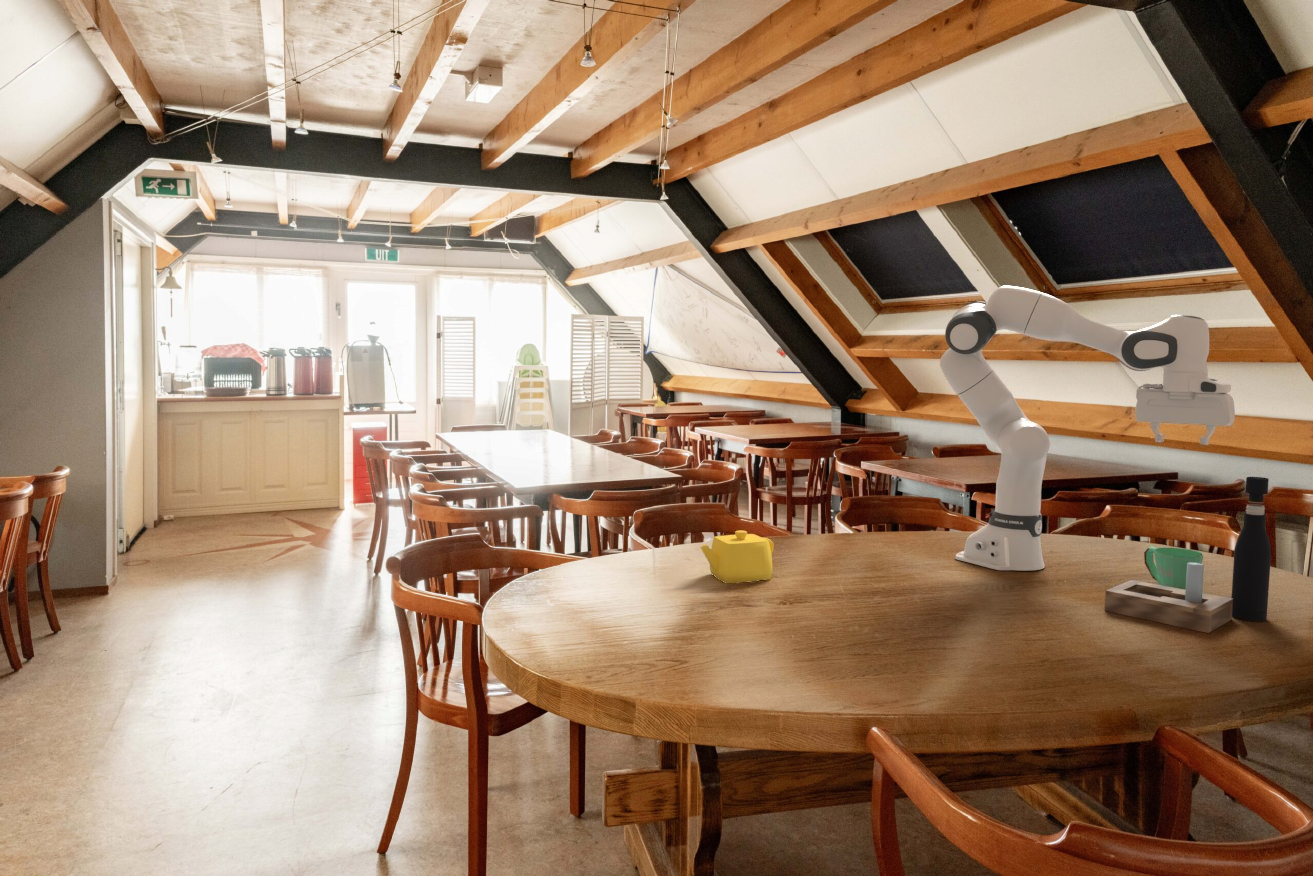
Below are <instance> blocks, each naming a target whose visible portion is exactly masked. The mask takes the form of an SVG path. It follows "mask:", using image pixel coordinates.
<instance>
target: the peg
mask: <svg viewBox="0 0 1313 876" xmlns="http://www.w3.org/2000/svg"><path fill="white" fill-rule="evenodd" d="M1204 570H1205V564H1200V563H1187V574H1186V591H1185V600H1186V601H1191V602H1196V603H1201V604H1202V593H1203V588H1204V587H1203V586H1204V573H1205V571H1204Z"/></svg>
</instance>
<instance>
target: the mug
mask: <svg viewBox="0 0 1313 876" xmlns="http://www.w3.org/2000/svg"><path fill="white" fill-rule="evenodd" d="M1143 555H1144V556H1143V558H1144V559H1143V560H1144V565H1145V566H1146V568H1147V570H1148V572H1149V574H1150V575H1151V577H1152V579H1153V580H1154V581H1156V582H1157V583H1158V585H1162V586H1168V587H1173V588H1178V589H1184V590H1186V574H1187V563H1200V564H1202V563H1203V560H1204V554H1203V553H1202V552H1201V551H1196V550H1193V549H1188V548H1179V547H1156V546H1153V545H1152V546H1148V547H1147V548H1146V549H1145V550H1144V552H1143Z"/></svg>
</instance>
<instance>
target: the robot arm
mask: <svg viewBox="0 0 1313 876" xmlns="http://www.w3.org/2000/svg"><path fill="white" fill-rule="evenodd" d="M1001 330H1009V331H1012V332H1016V333H1019V334H1021V335H1024V336H1027V337H1030V338H1033V339H1038V340H1042V341H1043V340H1044V341H1049V342H1066V343H1067V342H1068V343H1075V344H1080V345H1082V346H1086V347H1089V348H1092V349H1094V350H1098V351H1100V352H1103V353H1106V354H1109V355H1111V356H1113V357H1115V358H1116V359H1117V361H1119V362H1120V363H1121V364H1122V365H1123V366H1125V367H1126V368H1128V369H1129V370H1132V371H1135V372H1146V371H1150V370H1153V369H1155V368H1158V367H1160V368H1162V369H1163V375H1162V379H1163V380H1162V383H1155V384H1154V383H1153V384H1152V383H1143V384H1142V385H1140V386H1139V387H1138V388H1137V389H1136V393H1135V394H1136V395H1135V398H1136V400H1137V401H1136V404H1135V410H1134V419H1135V420H1136V421H1137V422H1138V423H1139V422H1140V423H1150V424H1149V425H1150V429H1151V431H1152V432H1153V434H1154V442H1156V443H1157V442H1158V443H1164V441H1165V433H1162V432H1161V431H1160V429H1159V427H1161V424H1173V425H1174V424H1175V425H1176V424H1177V425H1178V424H1180V425H1194V426H1195V425H1196V426H1197V425H1198V426H1199V425H1200V426H1205V431H1207V432H1206V433H1205V435H1203V436H1199V441H1198V442H1199V445H1201V446H1209V445H1210V438H1211V436H1212V435H1213V434H1214V432H1215V431H1216V429H1217V428H1216V427H1217V426H1218V427H1219V426H1220V427H1229V426H1232V425H1233V424H1234V423H1235V418H1236V417H1235V414H1236V413H1235V412H1236V411H1235V402H1234V399H1233V397H1232V395H1231V394H1229V393H1230V392H1231V390H1232V385H1231V384H1230V383H1228V382H1224V381H1222V380H1218V379H1213V378H1211V377H1209V376H1208V372H1209V369H1208V365H1207V361H1208V360H1207V359H1208V357H1209V353H1210V329H1209V324H1208V322H1207V321H1206V320H1205V319H1203V318H1202V317H1200V316H1194V315H1189V314H1172V315H1170V316H1169V317H1167V318H1166V319H1164V320H1163V321H1160V322H1158V323H1155V324H1153V325H1151V326H1149V327H1145V328H1142V329H1139V330H1122V329H1118V328H1115V327H1113V326H1109V325H1107V324H1103V323H1100V322H1097V321H1094V320H1091V319H1090V318H1087V317H1085V316H1084V315H1082V314H1080V313H1079V312H1078V311H1077V310H1076V309H1075V308H1074V307H1073V306H1072V305H1070V304H1069V303H1067V302H1065V301H1063V300H1062V299H1059V298H1057V297H1055V296H1053V295H1050V294H1048V293H1044V292H1041V291H1038V290H1035V289H1031V288H1026V287H1020V286H1013V285H1001V286H999V287H997V288H996V289H994V291H993V292H992V294H991V295H990V296H989V297H988V300H987V302H986V301H979V300H977V301H972V302H968V303H966V304H964V306H962V307H960V308H959V310H957V311H956V312H955V313H954V314H953V316H952V317H951V319H950V320H949V322H948V323H947V325H946V327H945V333H944V335H945V341H946V343H947V346H948V347H949V348H947V350H946V351H945V352H943V354H942V355H941V357H940V360H939V366H940V369H941V371H942V373H943V376H944V377H945V379H946V380H947V383H948V384H949V385H950V387H951V389H952V390H953V392H955V394H956V395H957V397H959V399H960V400H961V402H962V403H963V404H964V406H965V407H966V408H967V409H968V411H969V412H970V413H971V414H972V416H973V417H974V418H975V420H976V421H977V423H978V424H979V426H980V427H981V429H982V430H983V431H984V433H985V435H986V436H987V437H988V439H989V440H990V442H991V443H992V444H993V446H994V447H995V448H996V450H997V451H998V453H999V454H1001V456H1000V457H1001V459H1000V465H999V471H998V476H997V480H996V482H995V485H996V486H995V488H996V489H995V509H994V510H993V511H991V512H989V513H986V514H985V518H986V519H988V522H987V524H985V525H984V526H983V527H981V528H980V529H978V530H976V531H974V532H973V533H971V534H970V535H969V536H968V537H967V539H966V541H965V545H964V549H963V550H962V551H960V552H957V553H956V554H955V558H954V559H955V560H958V561H962V562H964V563H965V562H966V563H969V564H974V565H977V566H981V567H984V568H988V569H992V570H997V571H1023V572H1025V571H1038V570H1039V571H1040V570H1042V569H1044V568H1045V562H1044V558H1043V554H1042V553H1043V552H1042V546H1041V545H1042V544H1041V535H1042V531H1043V530H1042V529H1043V523H1042V522H1043V515H1042V513H1041V506H1042V484H1043V479H1044V474H1045V468H1046V463H1047V458H1048V452H1049V450H1050V445H1051V443H1050V442H1051V441H1050V439H1049V435H1048V433H1047V431H1046V430H1045V429H1044V427H1043V426H1042V425H1040V424H1039V423H1036V422H1033V421H1031V420H1030V419H1029V418H1028V417H1027V416H1026V414H1025V413H1024V411H1023V410H1022V408H1021V406H1020V405H1019V404H1018V403H1017V400H1016V399H1015V397H1014V395H1013V393H1012V392H1011V390H1010V389H1009V388H1008V387H1007V385H1006V384H1005V383H1004V381H1003V380H1002V379H1001V378H1000V376H999V375H998V373H996V372H995V370H994V369H993V368H992V366H991V365H990V364H989V363H988V361H987V360H986V359H985V357H984V354H983V349H984V347H985V346H987V344H989V342H990V341H991V339H993V337H994V336H995V334H996V333H997V332H998V331H1001Z"/></svg>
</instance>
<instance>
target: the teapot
mask: <svg viewBox="0 0 1313 876" xmlns="http://www.w3.org/2000/svg"><path fill="white" fill-rule="evenodd" d="M712 540H713V541H712V544H711V547H709V545H708V544H703V545H701V546H699V547H700V550H701V552H702V553H703V554H704V557H705V558H706V560H707V561H708V564H709V570H710V574H711V573H712V574H713V575H715V576H716V577H717V578H719V579H720V580H722V581H724V582H726V583H736V584H738V583H737V582H747V581H757V580H764V579H770V578H772V576H773V557H772V556H773V552H774V549H775V544H774V542H773V541H772V540H771V539H769V538H767V537H761V536H759V535H757V534H754V533H748V531H746V530H736V531H734V534H726V535H716V536H713V539H712ZM717 578H716V579H717ZM720 580H719V581H720ZM770 580H771V579H770ZM722 581H721V582H722ZM724 582H723V583H724ZM726 583H725V584H726Z"/></svg>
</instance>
